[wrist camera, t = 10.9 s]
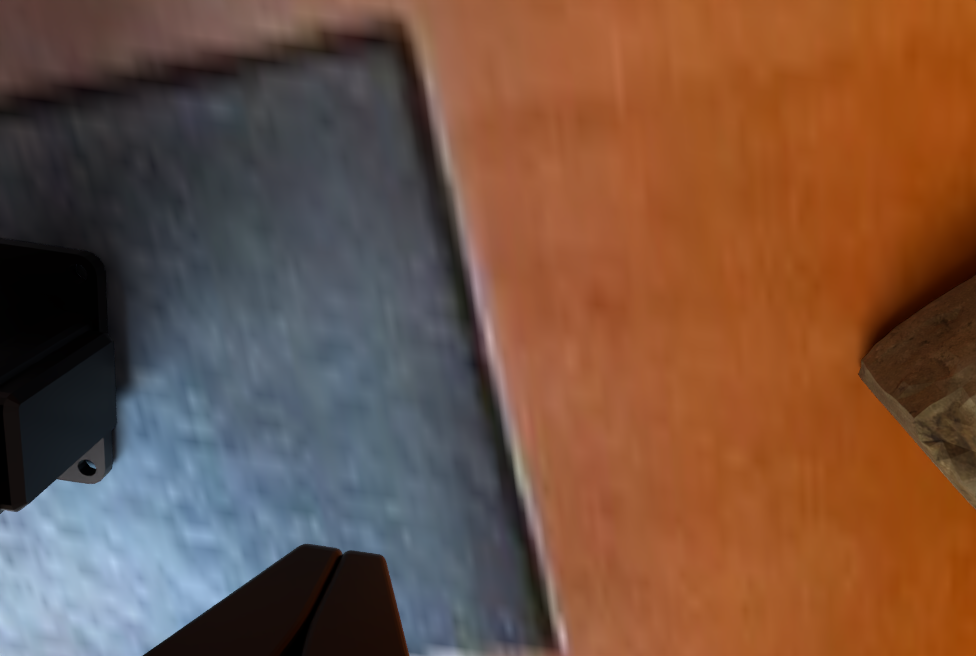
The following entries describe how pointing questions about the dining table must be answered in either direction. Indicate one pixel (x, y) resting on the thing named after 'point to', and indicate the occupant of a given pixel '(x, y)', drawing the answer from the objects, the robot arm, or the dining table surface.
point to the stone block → (933, 382)
